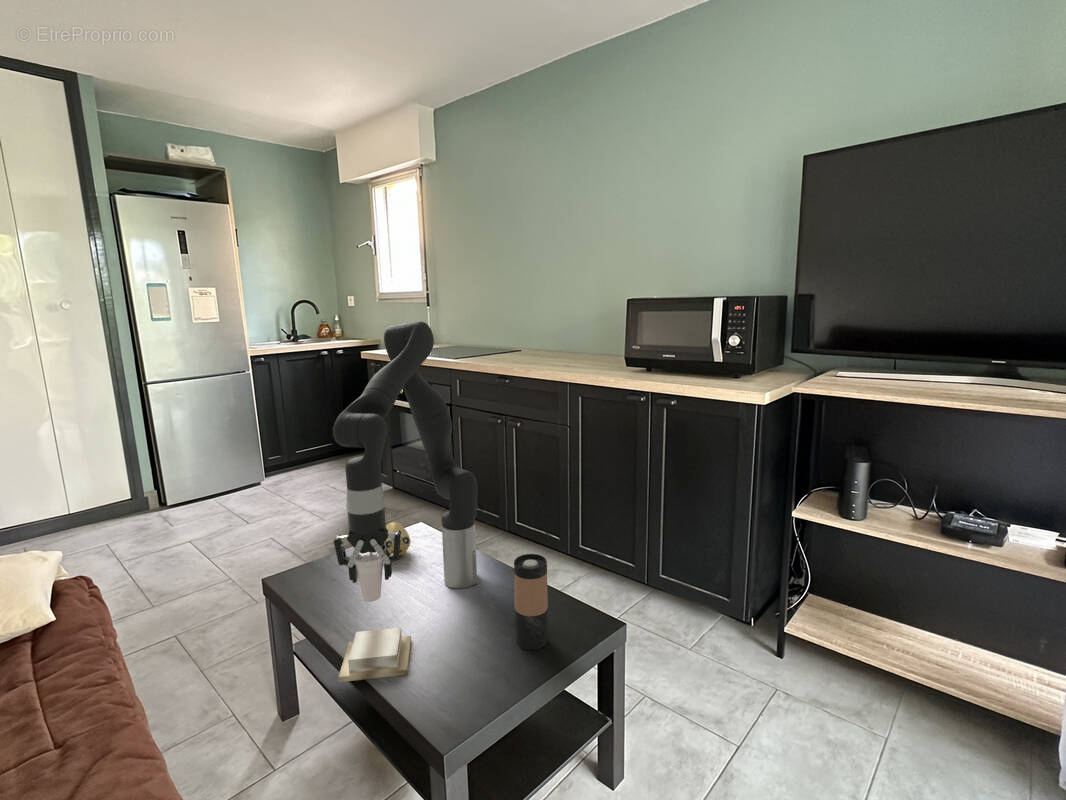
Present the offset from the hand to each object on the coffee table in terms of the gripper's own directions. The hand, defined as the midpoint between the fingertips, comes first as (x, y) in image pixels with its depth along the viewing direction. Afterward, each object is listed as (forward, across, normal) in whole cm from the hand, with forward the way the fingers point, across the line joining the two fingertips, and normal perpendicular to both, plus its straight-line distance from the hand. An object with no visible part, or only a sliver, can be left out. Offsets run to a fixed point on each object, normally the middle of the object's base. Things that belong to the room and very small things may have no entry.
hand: (371, 579), depth 116 cm
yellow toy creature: (+20, +1, -51) cm, 54 cm away
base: (+19, 0, 0) cm, 19 cm away
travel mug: (+20, -35, -1) cm, 40 cm away
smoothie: (+4, 0, 0) cm, 4 cm away
